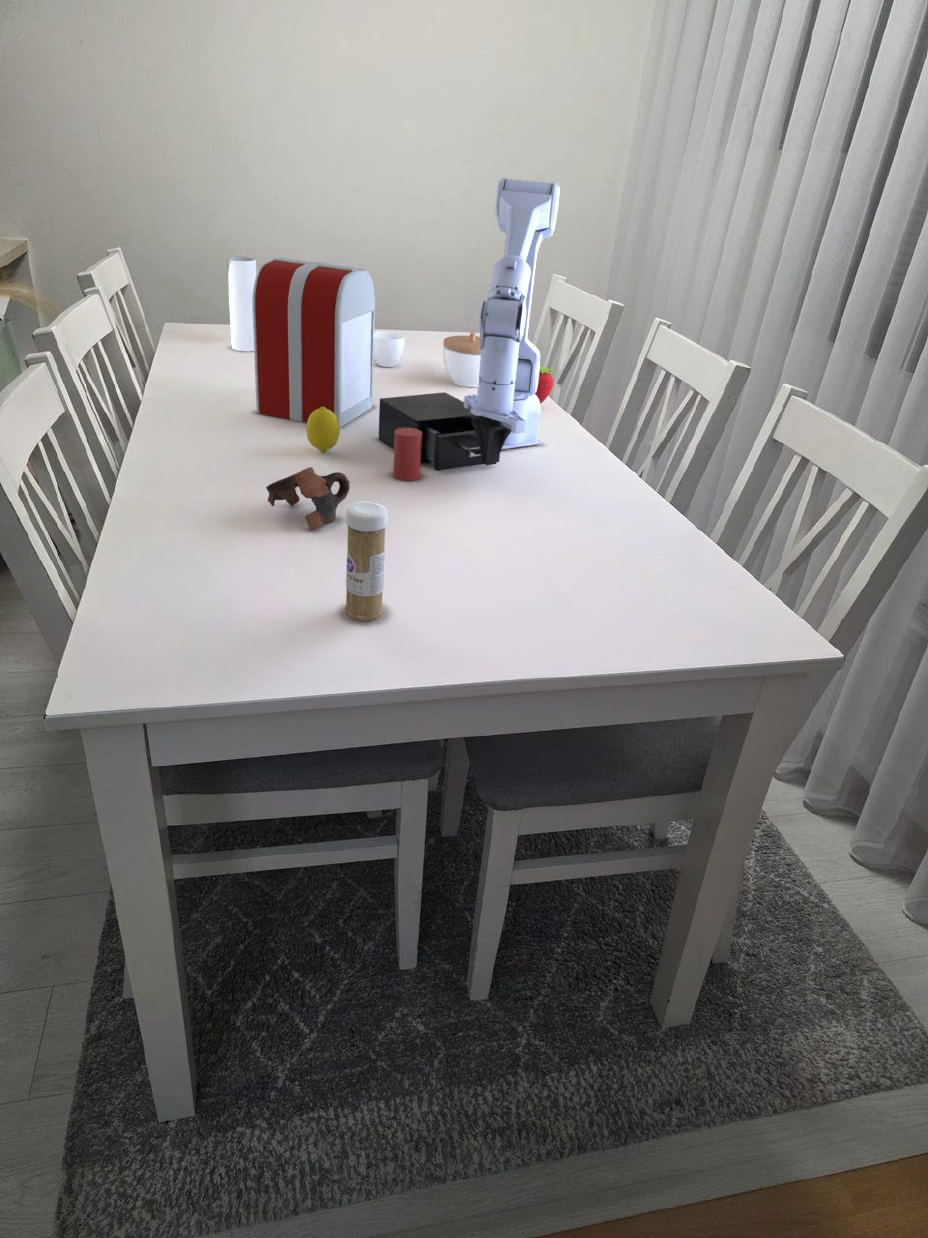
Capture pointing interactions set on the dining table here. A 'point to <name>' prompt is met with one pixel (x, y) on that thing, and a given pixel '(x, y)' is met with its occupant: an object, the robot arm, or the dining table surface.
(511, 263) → the robot arm
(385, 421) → the warmer
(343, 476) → the broken mug
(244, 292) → the vase
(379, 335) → the cup
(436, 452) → the tray drawer
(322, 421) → the lemon
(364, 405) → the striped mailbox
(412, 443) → the spice tin
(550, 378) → the strawberry
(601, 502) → the dining table surface
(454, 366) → the lidded bowl
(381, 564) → the sprinkles bottle
